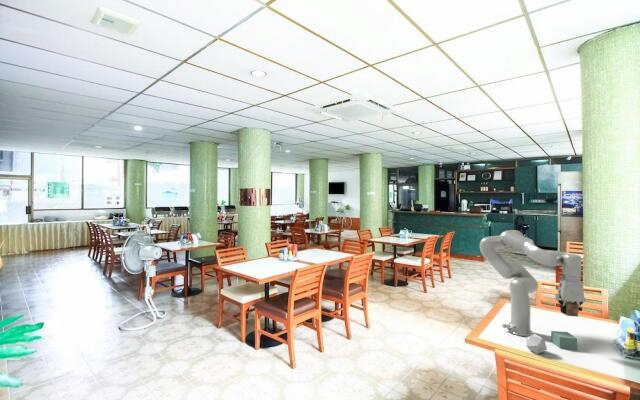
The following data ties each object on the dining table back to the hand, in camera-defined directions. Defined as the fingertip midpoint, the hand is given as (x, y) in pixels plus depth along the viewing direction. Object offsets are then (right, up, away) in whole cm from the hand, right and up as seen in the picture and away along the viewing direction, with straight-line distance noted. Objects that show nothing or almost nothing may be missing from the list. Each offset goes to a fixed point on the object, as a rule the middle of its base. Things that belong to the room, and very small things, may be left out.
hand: (569, 312), depth 162 cm
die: (-19, -19, -3) cm, 27 cm away
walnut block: (0, -1, 0) cm, 1 cm away
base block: (0, -19, +4) cm, 19 cm away
